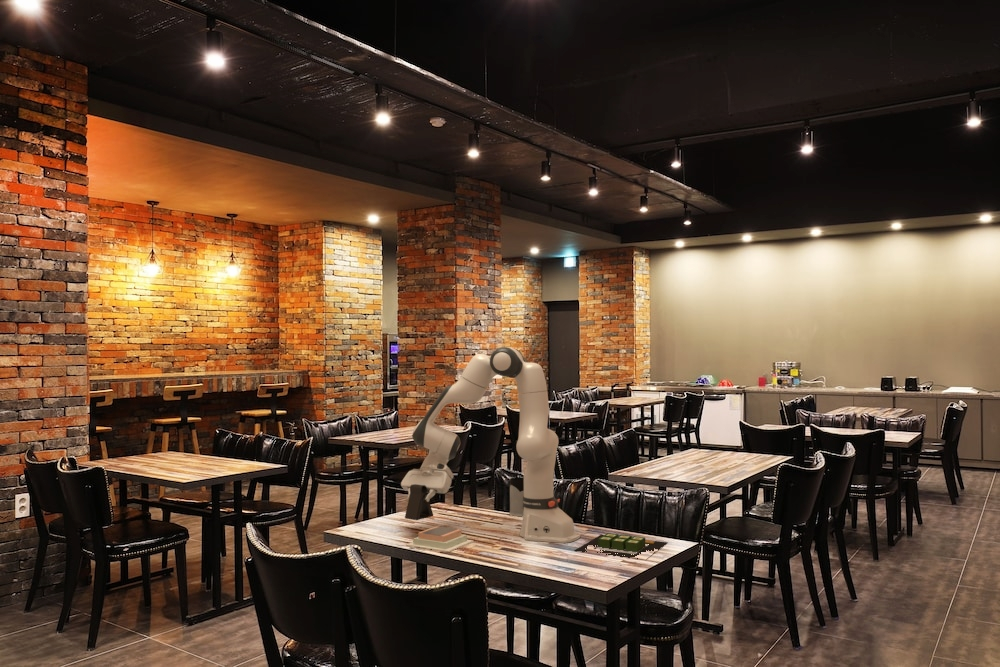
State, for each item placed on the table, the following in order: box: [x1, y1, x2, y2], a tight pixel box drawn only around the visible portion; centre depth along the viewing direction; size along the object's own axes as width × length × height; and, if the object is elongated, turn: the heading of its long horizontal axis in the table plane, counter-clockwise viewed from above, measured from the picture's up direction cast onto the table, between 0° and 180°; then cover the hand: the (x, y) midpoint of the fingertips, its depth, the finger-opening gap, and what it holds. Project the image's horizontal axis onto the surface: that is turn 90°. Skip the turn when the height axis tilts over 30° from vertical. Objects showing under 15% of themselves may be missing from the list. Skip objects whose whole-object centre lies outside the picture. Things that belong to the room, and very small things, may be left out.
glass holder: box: [508, 476, 524, 516], centre depth 311 cm, size 9×14×15 cm, turn 123°
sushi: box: [574, 532, 669, 560], centre depth 256 cm, size 25×25×4 cm
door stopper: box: [404, 484, 434, 521], centre depth 276 cm, size 9×6×12 cm, turn 140°
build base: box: [405, 526, 475, 553], centre depth 262 cm, size 18×16×5 cm
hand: (417, 500), depth 275 cm, fingers closed on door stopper, 6 cm apart
